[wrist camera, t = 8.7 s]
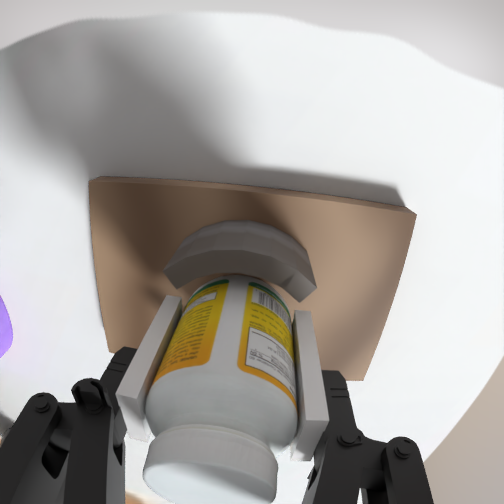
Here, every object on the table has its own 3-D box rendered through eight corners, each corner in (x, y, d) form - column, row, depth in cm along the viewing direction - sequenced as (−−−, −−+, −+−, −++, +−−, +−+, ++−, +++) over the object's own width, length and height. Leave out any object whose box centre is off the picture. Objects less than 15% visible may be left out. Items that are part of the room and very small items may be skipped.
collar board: (116, 339, 22) (86, 390, 17) (100, 176, 17) (46, 198, 12) (358, 366, 22) (375, 423, 17) (406, 207, 17) (452, 240, 12)
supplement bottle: (298, 277, 15) (324, 459, 6) (282, 362, 17) (285, 524, 8) (184, 265, 15) (101, 429, 6) (186, 351, 17) (138, 504, 8)
